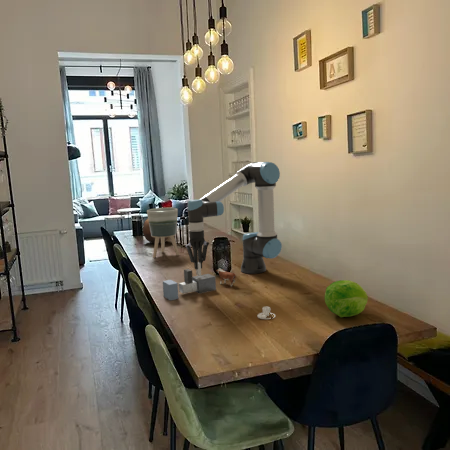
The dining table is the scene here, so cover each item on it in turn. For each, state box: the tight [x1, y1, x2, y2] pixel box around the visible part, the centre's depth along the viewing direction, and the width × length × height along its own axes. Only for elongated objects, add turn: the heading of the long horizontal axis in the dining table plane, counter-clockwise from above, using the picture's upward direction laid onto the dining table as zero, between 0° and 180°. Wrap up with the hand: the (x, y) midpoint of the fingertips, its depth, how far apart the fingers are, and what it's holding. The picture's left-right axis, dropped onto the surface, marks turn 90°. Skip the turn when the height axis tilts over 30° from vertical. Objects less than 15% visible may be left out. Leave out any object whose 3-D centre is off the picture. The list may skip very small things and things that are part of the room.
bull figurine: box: [216, 268, 237, 287], centre depth 239 cm, size 4×13×8 cm, turn 45°
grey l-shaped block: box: [178, 268, 198, 295], centre depth 227 cm, size 17×4×11 cm, turn 121°
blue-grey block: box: [162, 279, 179, 301], centre depth 220 cm, size 4×8×8 cm, turn 31°
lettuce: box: [324, 279, 369, 318], centre depth 187 cm, size 17×20×15 cm
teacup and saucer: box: [257, 306, 277, 320], centre depth 190 cm, size 9×8×4 cm
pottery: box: [142, 218, 169, 244], centre depth 360 cm, size 23×23×25 cm
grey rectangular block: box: [192, 273, 217, 295], centre depth 230 cm, size 10×7×7 cm
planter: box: [146, 207, 180, 259], centre depth 314 cm, size 22×22×33 cm
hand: (198, 274), depth 228 cm, fingers closed
